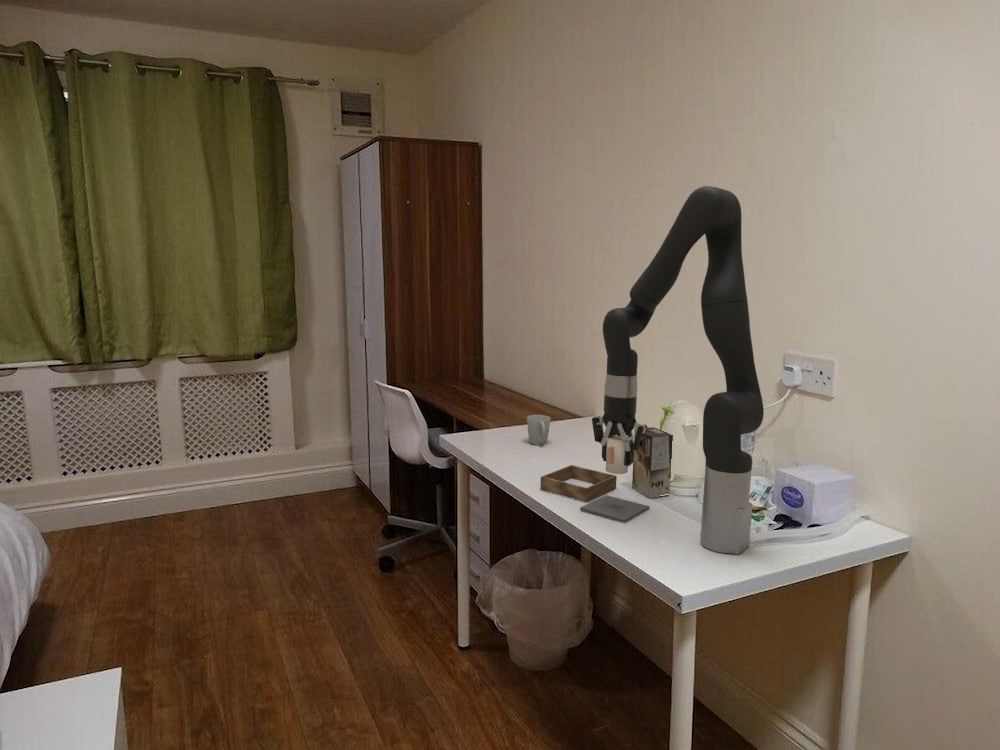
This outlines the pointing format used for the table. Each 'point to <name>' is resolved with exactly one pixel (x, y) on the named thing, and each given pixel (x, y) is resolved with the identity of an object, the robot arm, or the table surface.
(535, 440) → the cup
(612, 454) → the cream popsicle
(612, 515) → the mat
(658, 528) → the table surface
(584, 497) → the holder
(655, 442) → the coffee box
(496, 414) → the table surface
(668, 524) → the table surface
